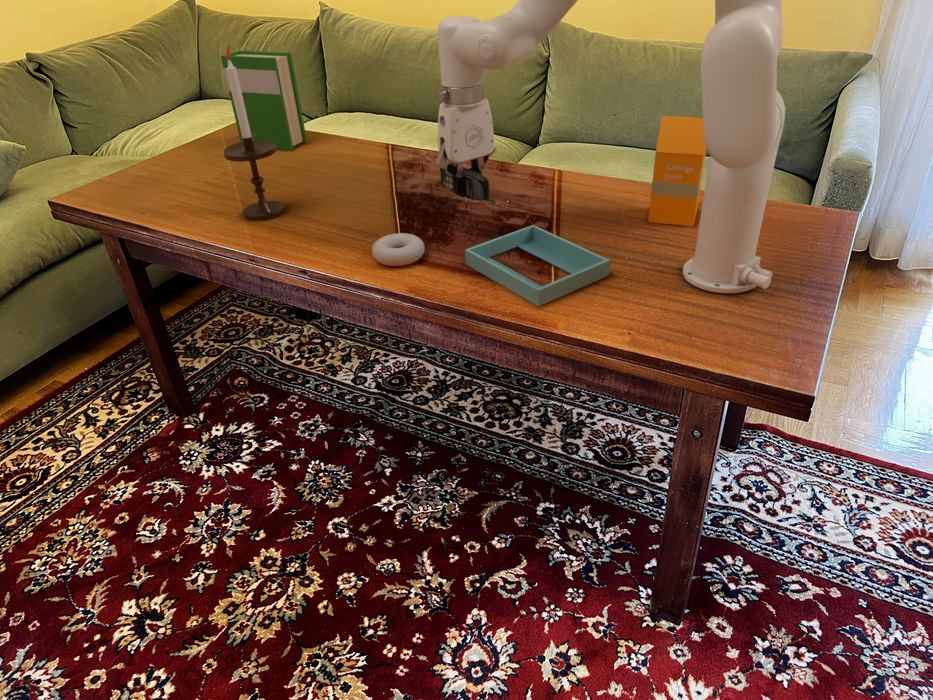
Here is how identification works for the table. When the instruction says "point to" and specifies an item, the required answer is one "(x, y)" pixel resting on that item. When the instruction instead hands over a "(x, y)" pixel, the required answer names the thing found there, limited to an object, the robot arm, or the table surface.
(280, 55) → the hardback book
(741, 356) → the table surface
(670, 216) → the orange juice
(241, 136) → the candlestick
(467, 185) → the mobile phone
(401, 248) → the donut
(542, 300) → the rectangular frame
